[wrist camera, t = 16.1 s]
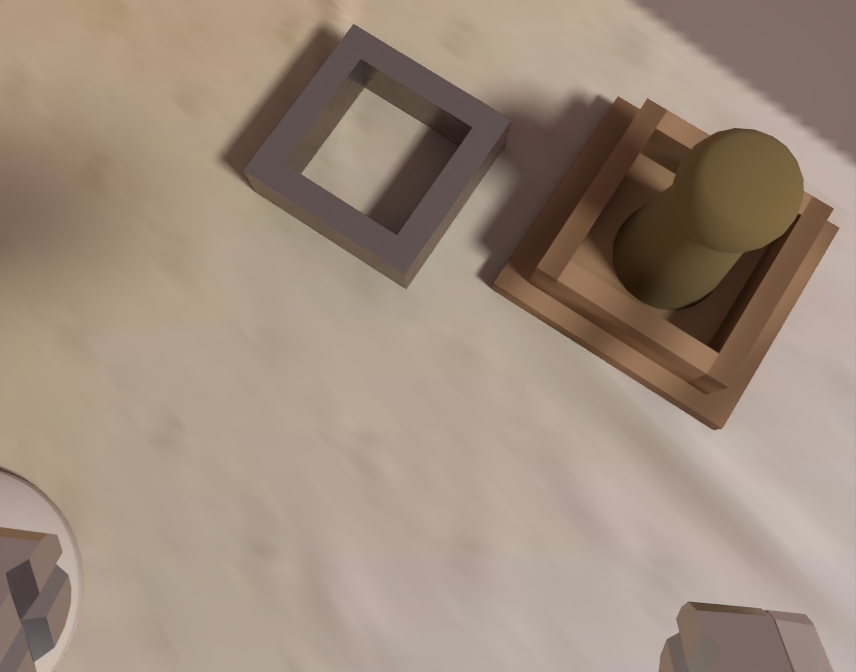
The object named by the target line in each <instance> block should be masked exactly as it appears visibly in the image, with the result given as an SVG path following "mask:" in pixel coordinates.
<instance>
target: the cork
mask: <svg viewBox="0 0 856 672" xmlns="http://www.w3.org/2000/svg"><path fill="white" fill-rule="evenodd" d="M803 198H804V189H803V177H802V174H801V171H800V168H799V165H798V162H797V160H796V159H795V157H794V156H793V155H792V153H791V152H790V150H789V149H788V148H787V147H786V146H785V145H784V144H782V143H781V142H780V141H778V140H777V139H776V138H774V137H773V136H770V135H768V134H765V133H762V132H760V131H757V130H752V129H739V128H734V129H729V130H725V131H720V132H717V133H715V134H713V135H711V136H709V137H707V138H706V139H704V140H702V141H701V142H699V143H697V144H696V145H695V146H694V147H693V148H692V149H691V150H690V152H689V153H688V154H687V155H686V156H685V157H684V159H683V160H682V161H681V163H680V164H679V167H678V169H677V172H676V175H675V177H674V180H673V184H672V185H671V186H670V187H668V188H667V189H665V190H664V191H663V192H661V193H660V194H658V195H657V196H656V197H654V198H653V199H652V200H650V201H649V202H647V203H646V204H645V205H643V206H642V207H640V208H639V209H638V210H636V211H635V212H634V213H632V214H631V215H630V216H629V217H628V218H627V219H626V220H625V222H624V223H623V224H622V225H621V226H620V227H619V230H618V232H617V235H616V237H615V240H614V243H613V263H614V266H615V269H616V273H617V276H618V278H619V279H620V281H621V282H622V284H623V285H624V287H625V288H626V290H627V291H628V292H629V293H631V294H632V295H633V296H634V297H636V298H637V299H638V300H639V301H641V302H642V303H645V304H647V305H650V306H652V307H655V308H657V309H665V310H680V309H684V308H689V307H693V306H695V305H696V304H698V303H700V302H701V301H703V300H704V299H706V298H708V296H709V295H710V294H711V293H712V292H713V290H714V289H715V288H716V287H717V285H718V284H719V283H720V282H721V280H722V279H723V278H724V277H725V275H726V274H727V273H728V272H729V270H730V269H731V268H732V266H733V265H734V264H735V263H736V261H737V260H738V259H739V258H740V256H741V255H742V254H743V253H744V252H747V251H751V250H756V249H760V248H762V247H764V246H766V245H767V244H769V243H770V242H772V241H774V240H775V239H777V238H778V237H780V236H781V235H783V234H784V233H785V231H786V230H787V229H788V228H789V226H790V225H791V224H792V223H793V221H794V220H795V218H796V217H797V215H798V212H799V209H800V207H801V204H802V201H803Z"/></svg>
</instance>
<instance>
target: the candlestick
mask: <svg viewBox="0 0 856 672" xmlns="http://www.w3.org/2000/svg"><path fill="white" fill-rule="evenodd" d="M0 527H4V528H11V529H19V530H26V531H34V532H41V533H48V534H56V535H58V538H59V541H60V545H61V548H62V551H63V552H62V554H61V556H60V558H59V560H58V562H57V563H56V564H57V565H58V566H59V567H60V568H61V569H63V570H64V571H65V572H66V573H67V574H68V575H69V579H70V583H71V606H70V609H69V613H68V617H67V621H66V624H65V628H64V630H63V632H62V634H61V636H60V638H59V640H58V642H57V644H56V646H55V648H53V649H52V650H51V651H49V652H48V653H46V654H45V655H44V656H42V657H41V658H40V659H38V660H37V661H35V667H36V671H37V672H54V671H55V670H56V668H57V667H58V665H59V664H60V662H61V661H62V659H63V657H64V656H65V654H66V652H67V650H68V648H69V646H70V644H71V642H72V639H73V637H74V634H75V631H76V628H77V625H78V622H79V618H80V614H81V609H82V603H83V594H84V574H83V565H82V560H81V555H80V551H79V547H78V544H77V541H76V538H75V536H74V533H73V531H72V529H71V527H70V525H69V523H68V522H67V520H66V518H65V517H64V515H63V514H62V512H61V511H60V510H59V508H58V507H57V506H56V505H55V504H54V503H53V502H52V501H51V500H50V499H49V498H48V497H47V496H46V495H45V494H44V493H43V492H42V491H40V490H39V489H38V488H36V487H35V486H33V485H32V484H30V483H29V482H27V481H25V480H23V479H21V478H19V477H17V476H14V475H12V474H9V473H6V472H2V471H0Z"/></svg>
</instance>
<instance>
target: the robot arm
mask: <svg viewBox="0 0 856 672" xmlns="http://www.w3.org/2000/svg"><path fill="white" fill-rule="evenodd" d="M62 552H63V551H62V548H61V545H60V541H59V538H58V535H56V534H48V533H41V532H34V531H26V530H19V529H11V528H4V527H0V672H37V671H36V667H35V661H37V660H38V659H40V658H41V657H42V656H44V655H45V654H46V653H48V652H49V651H51V650H52V649H53V648H55V646H56V644H57V642H58V640H59V638H60V636H61V634H62V632H63V630H64V628H65V624H66V621H67V617H68V613H69V609H70V606H71V583H70V579H69V575H68V574H67V573H66V572H65V571H64V570H63V569H61V568H60V567H59V566H58V565H57V564H56V563H57V562H58V560H59V558H60V556H61V554H62ZM676 620H677V624H678V629H679V633H677V634H676V635H674V636H672V637H670V638H668V639H667V640H666V643H665V645H664V648H663V650H662V653H661V656H660V665H659V672H834V671H833V669H832V667H831V664H830V662H829V659H828V657H827V655H826V652H825V650H824V648H823V645H822V643H821V640H820V638H819V636H818V633H817V631H816V629H815V626H814V624H813V622H812V621H811V620H810V619H809V618H808V616H807V615H806V614H800V613H790V612H780V611H771V610H763V609H761V608H751V607H740V606H729V605H719V604H708V603H697V602H687V603H686V604H685V605H683V606H682V607H681V609H680V611H679V614H678V616H677V618H676Z"/></svg>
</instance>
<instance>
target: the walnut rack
mask: <svg viewBox="0 0 856 672" xmlns="http://www.w3.org/2000/svg"><path fill="white" fill-rule="evenodd" d="M709 136H710V135H708V134H707V133H705V132H703V131H702V130H700V129H698V128H697V127H695V126H693V125H692V124H690V123H688V122H686V121H685V120H683V119H681V118H680V117H678V116H676V115H675V114H673V113H671V112H670V111H668V110H666V109H665V108H663V107H661V106H659V105H658V104H656V103H654V102H653V101H651V100H649V99H648V98H647V100H646V102H645V103H644V105H643V106H642V108H641V109H638V108H637V107H635V106H633V105H632V104H630V103H628V102H627V101H625V100H623V99H622V98H620V97H617V99H616V100H615V102H614V103H613V105H612V106H611V108H610V109H609V111H608V112H607V114H606V115H605V117H604V118H603V120H602V121H601V123H600V124H599V126H598V127H597V129H596V130H595V132H594V133H593V135H592V136H591V138H590V139H589V141H588V142H587V144H586V145H585V147H584V148H583V150H582V151H581V153H580V154H579V156H578V157H577V159H576V160H575V162H574V163H573V165H572V166H571V168H570V169H569V171H568V172H567V174H566V175H565V177H564V178H563V180H562V181H561V183H560V184H559V186H558V187H557V189H556V190H555V192H554V193H553V195H552V196H551V198H550V199H549V201H548V202H547V204H546V205H545V207H544V208H543V210H542V211H541V213H540V214H539V216H538V217H537V219H536V220H535V222H534V223H533V225H532V226H531V228H530V229H529V231H528V232H527V234H526V235H525V237H524V238H523V240H522V241H521V243H520V244H519V246H518V247H517V249H516V250H515V252H514V253H513V255H512V256H511V258H510V259H509V261H508V262H507V264H506V265H505V267H504V268H503V270H502V271H501V273H500V274H499V276H498V277H497V279H496V280H495V282H494V283H493V286H492V289H493V290H494V291H496V292H497V293H499V294H500V295H502V296H504V297H505V298H507V299H508V300H510V301H512V302H513V303H515V304H516V305H518V306H519V307H521V308H523V309H524V310H526V311H527V312H529V313H530V314H532V315H534V316H535V317H537V318H538V319H540V320H541V321H543V322H545V323H546V324H548V325H549V326H551V327H552V328H554V329H556V330H557V331H559V332H560V333H562V334H563V335H565V336H567V337H568V338H570V339H571V340H573V341H574V342H576V343H578V344H579V345H581V346H582V347H584V348H585V349H587V350H589V351H590V352H592V353H593V354H595V355H596V356H598V357H600V358H601V359H603V360H604V361H606V362H607V363H609V364H611V365H612V366H614V367H615V368H617V369H618V370H620V371H622V372H623V373H625V374H626V375H628V376H629V377H631V378H633V379H634V380H636V381H637V382H639V383H641V384H642V385H644V386H645V387H647V388H648V389H650V390H652V391H653V392H655V393H656V394H658V395H659V396H661V397H663V398H664V399H666V400H667V401H669V402H670V403H672V404H674V405H675V406H677V407H678V408H680V409H681V410H683V411H685V412H686V413H688V414H689V415H691V416H692V417H694V418H696V419H697V420H699V421H700V422H702V423H703V424H705V425H707V426H708V427H710V428H711V429H713V430H717V429H722V428H723V427H724V425H725V423H726V422H727V420H728V418H729V416H730V415H731V413H732V411H733V410H734V408H735V406H736V404H737V403H738V401H739V399H740V398H741V396H742V394H743V392H744V391H745V389H746V387H747V386H748V384H749V382H750V380H751V379H752V377H753V375H754V374H755V372H756V370H757V368H758V367H759V365H760V363H761V362H762V360H763V358H764V356H765V355H766V353H767V351H768V350H769V348H770V346H771V344H772V343H773V341H774V339H775V338H776V336H777V334H778V332H779V331H780V329H781V327H782V326H783V324H784V322H785V320H786V319H787V317H788V315H789V314H790V312H791V310H792V308H793V307H794V305H795V303H796V302H797V300H798V298H799V296H800V295H801V293H802V291H803V290H804V288H805V286H806V284H807V283H808V281H809V279H810V278H811V276H812V274H813V272H814V271H815V269H816V267H817V266H818V264H819V262H820V260H821V259H822V257H823V255H824V254H825V252H826V250H827V248H828V247H829V245H830V243H831V242H832V240H833V238H834V237H835V235H836V233H837V231H838V230H839V227H837V226H835V225H834V224H832V223H830V222H829V221H827V219H828V218H829V216H830V214H831V213H832V211H833V208H832V207H830V206H828V205H827V204H825V203H823V202H822V201H820V200H818V199H817V198H815V197H813V196H812V195H810V194H808V193H806V192H805V191H804V198H803V201H802V204H801V207H800V209H799V212H798V215H797V217H796V218H795V220H794V221H793V223H792V224H791V225H790V226H789V228H788V229H787V230H786V231H785V233H784V234H783V235H781V236H780V237H778V238H777V239H775V240H774V241H772V242H770V243H769V244H767V245H766V246H764V247H762V248H760V249H756V250H751V251H747V252H744V253H743V254H742V255H741V256H740V258H739V259H738V260H737V261H736V263H735V264H734V265H733V266H732V268H731V269H730V270H729V272H728V273H727V274H726V275H725V277H724V278H723V279H722V280H721V282H720V283H719V284H718V285H717V287H716V288H715V289H714V290H713V292H712V293H711V294H710V295H709V296H708V298H706V299H704V300H703V301H701V302H700V303H698V304H696V305H695V306H693V307H689V308H684V309H680V310H665V309H657V308H655V307H652V306H650V305H647V304H645V303H642V302H641V301H639V300H638V299H637V298H636V297H634V296H633V295H632V294H631V293H629V292H628V291H627V290H626V288H625V287H624V285H623V284H622V282H621V281H620V279H619V278H618V276H617V273H616V269H615V266H614V263H613V243H614V240H615V237H616V235H617V232H618V230H619V227H620V226H621V225H622V224H623V223H624V222H625V220H626V219H627V218H628V217H629V216H630V215H631V214H632V213H634V212H635V211H636V210H638V209H639V208H640V207H642V206H643V205H645V204H646V203H647V202H649V201H650V200H652V199H653V198H654V197H656V196H657V195H658V194H660V193H661V192H663V191H664V190H665V189H667V188H668V187H670V186H671V185H672V184H673V180H674V177H675V175H676V172H677V169H678V167H679V164H680V163H681V161H682V160H683V159H684V157H685V156H686V155H687V154H688V153H689V152H690V150H691V149H692V148H693V147H694V146H695V145H696V144H697V143H699V142H701V141H702V140H704V139H706V138H707V137H709Z"/></svg>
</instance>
